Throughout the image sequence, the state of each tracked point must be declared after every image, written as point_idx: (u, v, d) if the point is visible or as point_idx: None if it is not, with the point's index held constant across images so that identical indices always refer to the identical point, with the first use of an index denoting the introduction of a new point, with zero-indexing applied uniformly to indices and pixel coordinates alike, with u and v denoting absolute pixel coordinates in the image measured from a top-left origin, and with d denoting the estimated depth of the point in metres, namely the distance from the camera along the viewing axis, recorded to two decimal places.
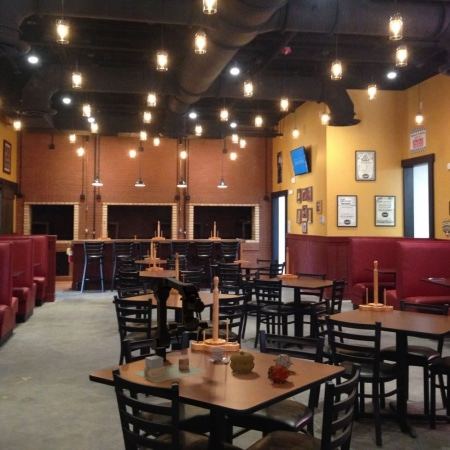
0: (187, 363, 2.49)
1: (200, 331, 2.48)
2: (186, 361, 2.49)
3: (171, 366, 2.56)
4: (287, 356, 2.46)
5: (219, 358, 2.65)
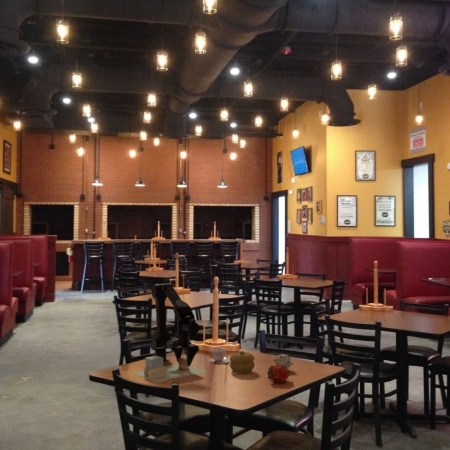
0: None
1: (186, 354, 2.45)
2: (186, 361, 2.49)
3: (171, 366, 2.56)
4: (287, 356, 2.46)
5: (220, 358, 2.65)
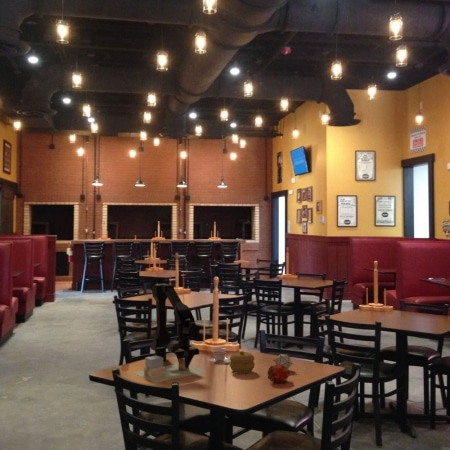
0: None
1: (184, 357, 2.46)
2: None
3: (171, 366, 2.56)
4: (287, 356, 2.46)
5: (221, 358, 2.65)
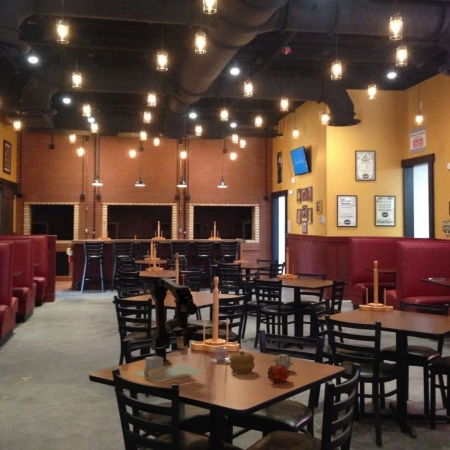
0: None
1: None
2: None
3: (171, 366, 2.56)
4: (287, 356, 2.46)
5: (222, 358, 2.65)
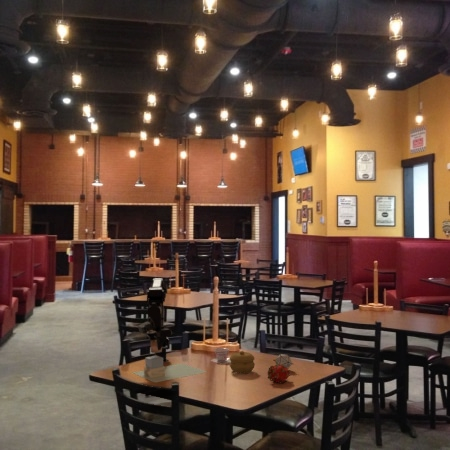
0: None
1: (156, 338, 2.37)
2: None
3: (171, 366, 2.56)
4: (287, 356, 2.46)
5: (223, 358, 2.65)
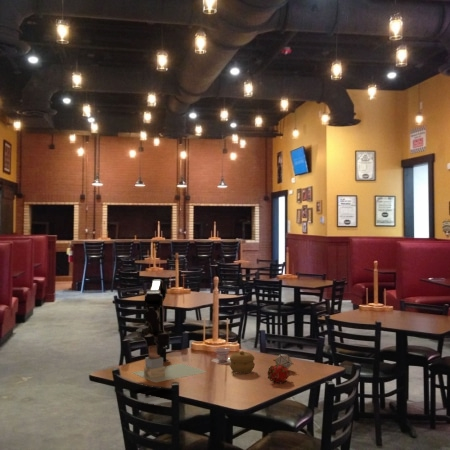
0: None
1: (155, 343, 2.36)
2: (156, 349, 2.39)
3: (171, 366, 2.56)
4: (287, 356, 2.46)
5: (224, 358, 2.65)
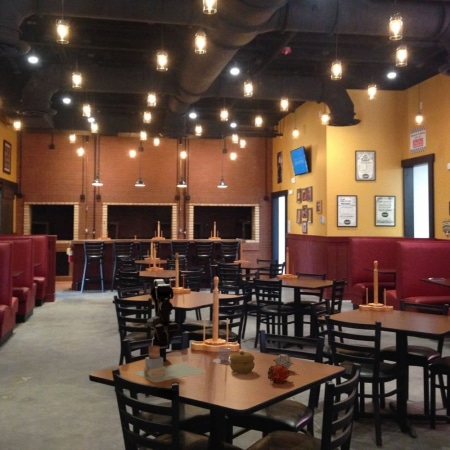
0: (157, 351, 2.40)
1: (166, 332, 2.49)
2: (156, 349, 2.39)
3: (171, 366, 2.56)
4: (287, 356, 2.46)
5: (225, 358, 2.65)
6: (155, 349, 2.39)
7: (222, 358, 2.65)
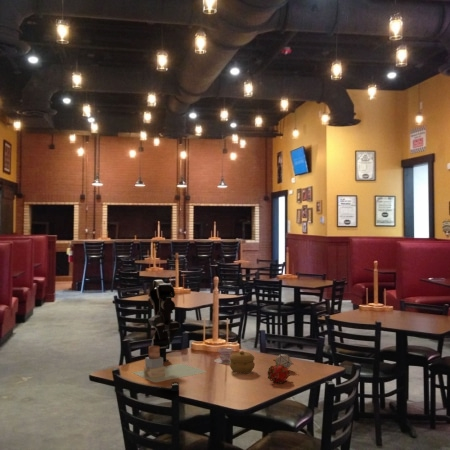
0: (157, 351, 2.40)
1: None
2: (156, 349, 2.39)
3: (171, 366, 2.56)
4: (287, 356, 2.46)
5: (227, 358, 2.65)
6: (155, 349, 2.39)
7: (223, 358, 2.65)
